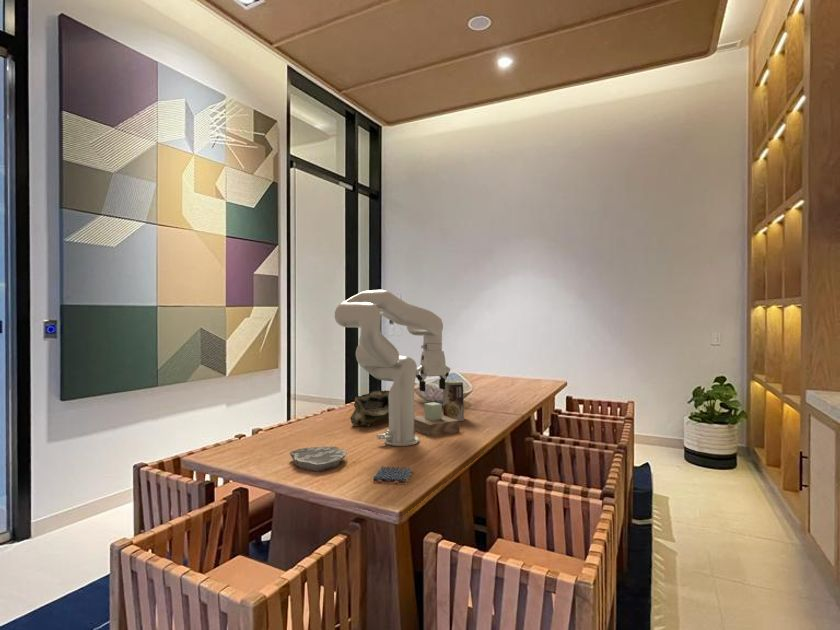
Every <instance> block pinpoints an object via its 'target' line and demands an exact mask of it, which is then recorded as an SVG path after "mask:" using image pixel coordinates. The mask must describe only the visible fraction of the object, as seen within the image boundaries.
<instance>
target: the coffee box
mask: <svg viewBox="0 0 840 630" xmlns="http://www.w3.org/2000/svg"><path fill="white" fill-rule="evenodd" d="M442 395H443V396H442V399H443V400H442V410H443V412H442V415H444V416H447V417H450V418H454V419H457V420H459V422H464V421H465V407H464V406H465V403H464V401H465V400H464V382H459V381H458V382H457V381H456V382H453V381H452V382H451V381H449V382H446V381H445V390H443V389H442Z"/></svg>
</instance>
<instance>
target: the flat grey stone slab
mask: <svg viewBox="0 0 840 630" xmlns="http://www.w3.org/2000/svg"><path fill="white" fill-rule="evenodd" d="M347 453H348V452H347V450H346V449H341V448H339V447H338V446H337V447H336V446H315V447H314V446H313V447H304V448H303V447H302V448H298V449H296V450H292V451H290V452H289V454H290V457H291V458H292V459H293V462H294V463H295V465H296V466H297V467H298V468H299V469H302V470H307V471H312V472H322V471H325V470H328V469H329V470H330V469H335V468H336V467H338V466H339V464H340V462H341V461H343V460H344V459H345V457H346V455H347Z"/></svg>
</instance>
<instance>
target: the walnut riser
mask: <svg viewBox="0 0 840 630" xmlns="http://www.w3.org/2000/svg"><path fill="white" fill-rule="evenodd" d="M414 421H415V432H417V433H419V434H421V435H425V436H427V437H436V436H442V435H448V434H454V433H459V432H460V421H459V420H457V419H454V418H450V417H447V416H444V415H443V414H442V419H438V420H428V419H425V414H424V415H423V414H422V415H416V416H415V415H414Z"/></svg>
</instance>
